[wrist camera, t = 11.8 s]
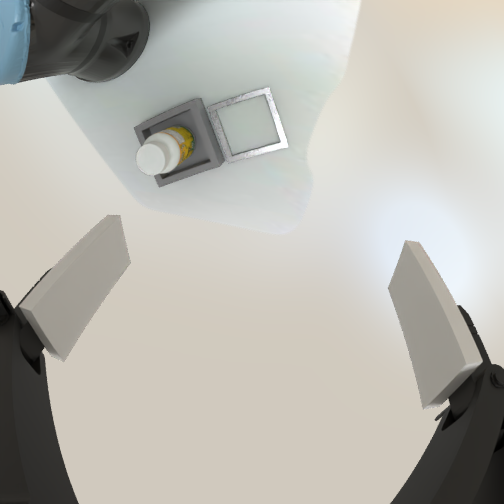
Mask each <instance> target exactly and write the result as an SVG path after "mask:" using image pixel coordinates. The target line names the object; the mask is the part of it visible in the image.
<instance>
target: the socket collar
mask: <svg viewBox="0 0 504 504" xmlns="http://www.w3.org/2000/svg"><path fill="white" fill-rule="evenodd" d="M263 94H265V95H266V98H267V101H268V104H269V107H270V110H271V113H272V116H273V119H274V122H275V125H276V128H277V131H278V134H279V138H280V141H281V142H279V143H275V144H271V145H267V146H264V147H260V148H257V149H253V150H250V151H246V152H243V153H239V154H236V155H232V152H231V149H230V147H229V144H228V141H227V138H226V136H225V133H224V130H223V128H222V125H221V122H220V120H219V117H218V114H217V111H216V110H217V109H220V108H223V107H225V106H228V105H231V104H234V103H237V102H240V101H243V100H247V99H250V98H253V97H256V96H260V95H263ZM207 108H208V111H209V113H210V116H211V119H212V121H213V124H214V126H215V129H216V132H217V134H218V137H219V140H220V142H221V145H222V148H223V151H224V153H225V156H226V159H227V161H228V164H229V163H232V162H235V161H238V160H242V159H245V158H249V157H252V156H256V155H259V154H263V153H266V152H270V151H274V150H278V149H282V148H286V147H288V142H287V139H286V136H285V133H284V130H283V126H282V123H281V120H280V117H279V114H278V111H277V108H276V105H275V102H274V99H273V96H272V93H271V90H270V87H267V88H263V89H260V90H256V91H253V92H250V93H247V94H243V95H240V96H237V97H234V98H231V99H228V100H225V101H223V102H220V103H217V104H214V105H212V106H209V107H207Z"/></svg>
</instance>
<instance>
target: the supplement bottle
mask: <svg viewBox="0 0 504 504" xmlns="http://www.w3.org/2000/svg"><path fill="white" fill-rule="evenodd" d="M194 149H195V136H194V134H193V133H192V131H191V130H190V129H188V128H187V127H185V126H181V125H176V126H172V127H169V128H167V129H165V130H162V131H160V132H158V133H155V134H153V135H151V136H150V137H148V138H147V139H146V141H145V142H144V144H143V146H141V147H140V148H139V150H138V151H137V154H136V163H137V166H138V168H139V169H140V170H141V171H142V172H143V173H144V174H146V175H150V176H153V175H157V174H159V173H160V174H162V173H167V172H170V171H171V170H173V169H174V168H175V167H177V166H178V165H179V164H180V163H182V162H183V161H184V160H186V159H187V158H188V157H189V156H191V154H192V153H193V152H194Z"/></svg>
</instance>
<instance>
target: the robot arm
mask: <svg viewBox="0 0 504 504" xmlns="http://www.w3.org/2000/svg"><path fill="white" fill-rule="evenodd" d="M148 35H149V18H148V14H147V12H146V10H145V9H144V7H143V6H142V5H141V4H140V3H138V2H137V1H134V0H0V85H4V84H16V83H19V82H23V81H28V80H33V79H38V78H44V77H50V76H56V75H63V74H69V75H72V76H76V77H77V78H79V79H81V80H83V81H87V82H102V81H108V80H111V79H114V78H116V77H118V76H120V75H121V74H123V73H124V72H126V71H127V70H128V69H129V68H130V67H131V66H132V65H133V64H134V63H135V62H136V60H137V59H138V58H139V56H140V55H141V53H142V51H143V49H144V47H145V45H146V42H147V39H148ZM130 263H131V262H130V258H129V253H128V249H127V245H126V241H125V236H124V232H123V227H122V222H121V218H120V215H107V216H106V217H105V218H104V219H103V220H101V221H100V222H99V223H98V224H97V225H96V226H95V227H94V228H93V229H92V230H91V231H90V232H89V233H87V234H86V235H85V236H84V237H83V238H82V239H81V240H80V241H79V242H78V243H77V244H76V245H75V246H74V247H73V248H72V249H71V250H70V251H69V252H68V253H67V254H66V255H65V256H64V257H63V258H62V259H61V260H60V261H59V262H58V263H57V264H56V265H55V266H54V267H53V268H51V269H50V270H48V271H47V272H46V273H45V274H44V275H43V276H42V277H41V278H40V281H38V282H37V283H36V284H35V286H34V287H32V289H31V290H30V291H29V292H28V293H27V294H26V295H25V297H24V298H23V299H22V300H21V302H20V303H19V304H18V305H17V306H16V307H15V309H14V308H13V307H12V305H11V303H10V301H9V300H8V298H7V296H6V294H5V293H4V291H1V290H0V504H79V503H78V501H77V498H76V496H75V493H74V491H73V488H72V485H71V483H70V480H69V477H68V474H67V471H66V468H65V464H64V461H63V458H62V454H61V451H60V447H59V443H58V439H57V435H56V430H55V426H54V421H53V416H52V411H51V406H50V399H49V392H48V385H47V376H46V367H45V357H44V354H43V353H42V350H43V349H44V347H45V348H46V349H47V351H48V352H49V354H50V355H51V356H52V357H54V358H56V359H58V360H61V361H63V362H64V361H65V360H66V358H67V356H68V355H69V353H70V351H71V350H72V348H73V346H74V345H75V343H76V342H77V340H78V338H79V337H80V335H81V333H82V332H83V330H84V329H85V327H86V326H87V324H88V323H89V321H90V320H91V318H92V317H93V315H94V314H95V312H96V311H97V309H98V308H99V306H100V305H101V303H102V302H103V301H104V299H105V298H106V296H107V295H108V293H109V292H110V290H111V289H112V288H113V286H114V285H115V284H116V282H117V281H118V279H119V278H120V277H121V275H122V274H123V273H124V271H125V270H126V269H127V267H128V266H129V265H130ZM388 289H389V292H390V295H391V298H392V301H393V304H394V307H395V310H396V312H397V315H398V318H399V321H400V324H401V328H402V331H403V334H404V337H405V340H406V344H407V347H408V351H409V354H410V358H411V361H412V365H413V369H414V372H415V377H416V380H417V384H418V389H419V393H420V398H421V402H422V407H423V409H428V408H434V407H439V406H440V405H442V404H443V402H445V401H446V400H447V399H449V402H450V405H449V406H448V407H447V408H446V409H445V410H444V411H443V412H441V413H440V414H439V415H438V416H437V417H436V419H435V421H437V420H438V419H440V418H441V417H442V416H443V417H442V419H441V421H440V423H439V425H438V427H437V429H436V431H435V434H434V435H433V437H432V439H431V441H430V443H429V445H428V446H427V448H426V450H425V452H424V454H423V455H422V457H421V459H420V460H419V462H418V464H417V465H416V467H415V469H414V470H413V472H412V474H411V475H410V477H409V478H408V480H407V481H406V483H405V484H404V486H403V487H402V488H401V490H400V491H399V493H398V494H397V495H396V497H395V498H394V499H393V501H392V502H391V503H390V504H504V369H503V368H502V367H501V366H499V365H496V364H491V361H490V359H489V357H488V354H487V352H486V350H485V348H484V345H483V343H482V341H481V339H480V337H479V335H477V330H476V328H475V327H474V326H473V325H474V324H473V322H472V320H471V318H470V316H469V314H468V313H467V312H466V311H465V310H464V309H463V308H462V307H461V306H460V305H456V303H455V301H454V299H453V297H452V295H451V294H450V292H449V290H448V288H447V286H446V285H445V283H444V281H443V279H442V278H441V276H440V274H439V273H438V271H437V269H436V268H435V266H434V264H433V263H432V261H431V260H430V258H429V257H428V255H427V253H426V252H425V250H424V249H423V247H422V246H421V244H420V243H419V242H414V241H405V243H404V246H403V249H402V252H401V255H400V258H399V260H398V263H397V266H396V269H395V271H394V274H393V277H392V279H391V282H390V285H389V287H388Z"/></svg>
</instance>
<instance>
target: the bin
mask: <svg viewBox="0 0 504 504" xmlns="http://www.w3.org/2000/svg"><path fill="white" fill-rule="evenodd" d="M176 125H181V126H185V127H187V128H188V129H190V130H191V131H192V133H193V134H194V136H195V149H194V152H193V153H192V154H191V156H189V157H188V158H187V159H186V160H184V161H183V162H182V163H180V164H179V165H178V166H177V167H175V168H174V169H173V170H171V171H170V172H167V173H162V174H160V173H159V174H157V175H154V177H155V179H156V181H157V184H158V186H159V187H162V186H165V185H167V184H170V183H173V182H176V181H178V180H181V179H184V178H187V177H190V176H192V175H195V174H198V173H201V172H204V171H207V170H210V169H213V168H216V167H220V166H221V165H222V163H223V162H224V161H225V160H224V158H223V155H222V152H221V150H220V147H219V144H218V142H217V139H216V136H215V134H214V131H213V128H212V126H211V123H210V120H209V118H208V115H207V112H206V110H205V107H204V105H203V102H202V99H201V98H200V99H194V100H191V101H189V102H187V103H184V104H182V105H180V106H177V107H175V108H173V109H171V110H168V111H166V112H164V113H162V114H160V115H158V116H156V117H154V118H152V119H150V120H148V121H146V122H144V123H142V124H140V125H138V126H136V127H134V130H135V132H136V135H137V137H138V140H139V142H140V144H141V146H143V144H144V142H145V141H146V139H147V138H148V137H150V136H151V135H153V134H155V133H158V132H160V131H162V130H165V129H167V128H169V127H172V126H176Z"/></svg>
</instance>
